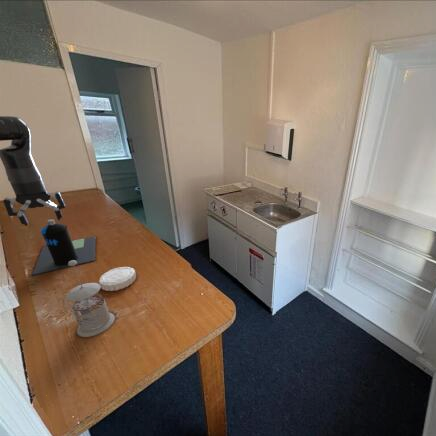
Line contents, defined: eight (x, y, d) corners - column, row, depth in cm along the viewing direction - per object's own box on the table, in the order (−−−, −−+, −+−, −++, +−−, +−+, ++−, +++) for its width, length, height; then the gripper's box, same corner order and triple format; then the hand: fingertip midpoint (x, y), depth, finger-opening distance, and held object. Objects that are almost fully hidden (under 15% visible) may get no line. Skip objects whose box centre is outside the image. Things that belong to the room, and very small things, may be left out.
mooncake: (110, 295, 88) (108, 288, 86) (94, 284, 93) (92, 276, 91) (142, 278, 97) (140, 271, 96) (126, 268, 102) (124, 262, 101)
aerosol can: (72, 253, 110) (58, 214, 101) (82, 258, 106) (67, 219, 98) (50, 261, 103) (32, 221, 94) (59, 267, 100) (42, 226, 91)
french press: (102, 336, 72) (77, 271, 62) (62, 337, 71) (29, 271, 61) (121, 312, 81) (101, 251, 71) (85, 312, 80) (60, 251, 70)
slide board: (32, 275, 95) (32, 274, 95) (43, 246, 113) (43, 246, 113) (94, 260, 106) (94, 260, 106) (95, 236, 125) (95, 236, 125)
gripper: (54, 174, 86) (69, 214, 93) (-4, 179, 78) (16, 222, 84) (54, 179, 81) (69, 221, 88) (-9, 185, 73) (13, 230, 79)
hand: (43, 221), depth 86 cm, fingers open, 8 cm apart
